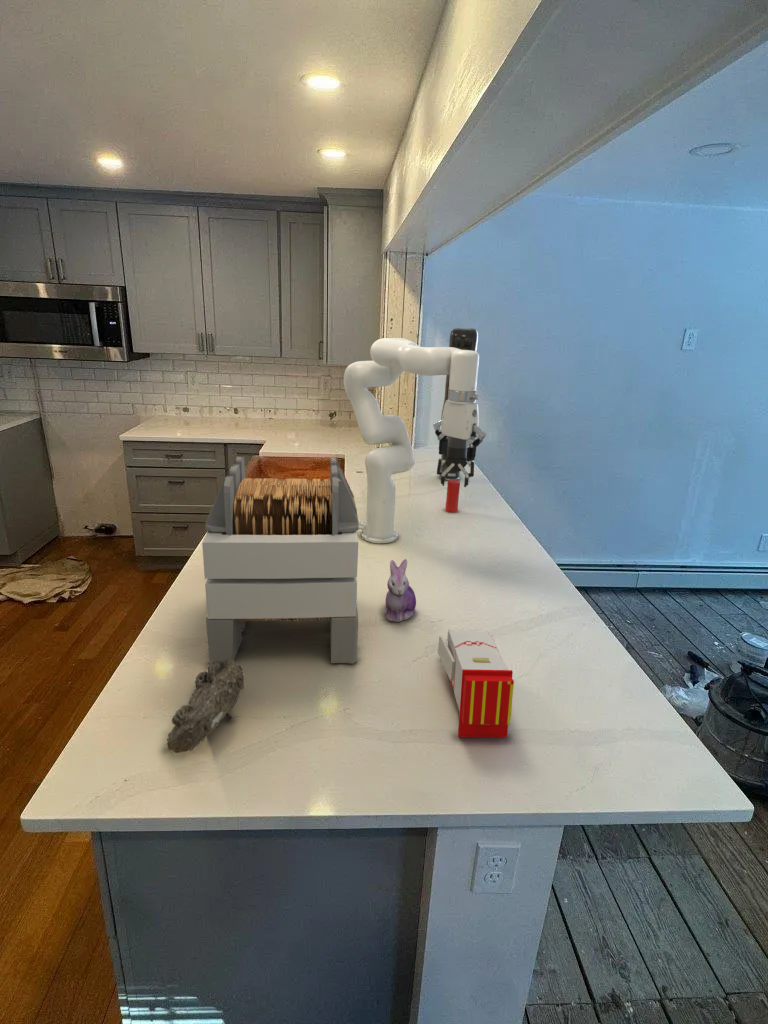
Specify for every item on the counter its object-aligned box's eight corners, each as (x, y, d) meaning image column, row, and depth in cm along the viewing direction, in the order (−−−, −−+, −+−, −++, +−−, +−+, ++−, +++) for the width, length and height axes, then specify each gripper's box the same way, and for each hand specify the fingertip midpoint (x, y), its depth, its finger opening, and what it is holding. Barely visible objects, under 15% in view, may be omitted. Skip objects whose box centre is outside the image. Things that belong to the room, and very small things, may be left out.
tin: (456, 508, 228) (458, 479, 224) (458, 512, 224) (461, 483, 219) (444, 508, 228) (447, 479, 224) (446, 512, 223) (448, 482, 219)
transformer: (229, 593, 154) (221, 446, 140) (350, 592, 157) (353, 448, 144) (206, 668, 122) (192, 488, 108) (358, 664, 126) (363, 489, 112)
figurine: (392, 627, 141) (395, 572, 136) (374, 608, 149) (376, 556, 144) (425, 619, 145) (429, 566, 140) (405, 601, 154) (408, 550, 149)
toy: (488, 613, 130) (523, 677, 101) (484, 667, 133) (517, 744, 104) (435, 612, 130) (455, 676, 101) (432, 666, 133) (451, 743, 103)
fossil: (192, 660, 117) (244, 628, 112) (224, 691, 120) (276, 661, 115) (142, 746, 98) (202, 712, 93) (182, 779, 101) (242, 748, 96)
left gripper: (495, 399, 153) (489, 461, 159) (444, 391, 164) (440, 449, 170) (480, 402, 148) (473, 465, 154) (428, 393, 159) (424, 453, 165)
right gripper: (475, 444, 220) (471, 484, 225) (438, 442, 221) (435, 482, 226) (477, 448, 213) (472, 489, 218) (439, 446, 214) (435, 487, 219)
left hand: (456, 457), depth 162 cm, fingers open, 9 cm apart
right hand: (454, 485), depth 222 cm, fingers open, 8 cm apart
